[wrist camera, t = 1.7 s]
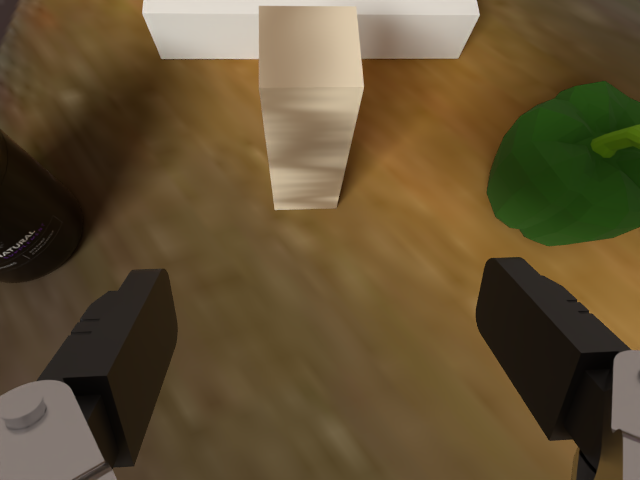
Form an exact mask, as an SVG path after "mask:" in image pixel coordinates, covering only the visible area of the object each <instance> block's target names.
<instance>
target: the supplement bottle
mask: <svg viewBox="0 0 640 480" xmlns="http://www.w3.org/2000/svg"><path fill="white" fill-rule="evenodd" d="M82 229H83V215H82V210H81V207H80V205H79V203H78V201H77V199H76V198H75V196H74V195H73V194H72V193H71V192H70V191H69V190H68V189H67V188H66V187H65V186H64V185H63V184H62V183H61V182H60V181H59V180H58V179H56V178H55V177H54V176H53V175H52V174H51V173H50V172H48V171H47V170H46V169H45V168H44V167H43V166H42V165H41V164H39V163H38V162H37V161H36V160H35V159H34V158H33V157H31V156H30V155H29V154H28V153H27V152H26V151H25V150H24V149H22V148H21V147H20V146H19V145H18V144H17V143H16V142H14V141H13V140H12V139H11V138H10V137H9V136H8V135H7V134H5V133H4V132H3V131H2V130H1V129H0V282H5V283H20V282H27V281H31V280H34V279H38V278H40V277H43V276H45V275H47V274H49V273H50V272H52V271H54V270H55V269H57V268H58V267H59V266H60V265H62V264H63V263H64V262H65V261H66V260H67V259H68V258H69V257H70V255H71V254H72V253H73V251H74V250H75V248H76V246H77V245H78V242H79V240H80V237H81V234H82Z"/></svg>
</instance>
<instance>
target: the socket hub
mask: <svg viewBox="0 0 640 480" xmlns="http://www.w3.org/2000/svg"><path fill="white" fill-rule="evenodd" d="M259 6H356V9H357V20H358V30H359V40H360V51H361V59H458V58H459V56H460V54H461V52H462V50H463V48H464V46H465V44H466V42H467V40H468V38H469V36H470V34H471V32H472V30H473V28H474V26H475V24H476V22H477V20H478V18H479V16H480V13H479V9H478V4H477V0H144V2H143V11H142V14H143V16H144V19H145V21H146V23H147V26H148V28H149V31H150V33H151V35H152V38H153V40H154V42H155V45H156V47H157V50H158V52H159V54H160V57H161V59H259Z"/></svg>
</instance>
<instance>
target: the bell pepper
mask: <svg viewBox="0 0 640 480" xmlns="http://www.w3.org/2000/svg"><path fill="white" fill-rule="evenodd" d="M487 195H488V198H489V201H490V203H491V206H492V209H493V212H494V214H495V217H496V218H498V219H499V220H500V221H502V222H503V223H504V224H506V225H507V226H508V227H510V228H515V229H520V231H521V232H522V234H523V236H524V237H526V238H528V239H531V240H533V241H536V242H538V243H541V244H544V245H546V246H557V245H567V244H574V243H581V242H588V241H595V240H602V239H609V238H614V237H616V236H619V235H621V234H624V233H626V232H629V231H631V230H633V229H636V228H638V227H640V102H638V101H636V100H633V99H631V98H629V97H628V96H626V95H625V94H623V93H622V92H620V91H619V90H618V89H616V88H615V87H613V86H612V85H610V84H609V83H607V82H606V81H602V82H596V83H590V84H585V85H579V86H574V87H572V88H569V89H567V90H564V91H561V92H560V93H559V94H558V95H557V96H556V97H555V98H554V99H552V100H549V101H546V102H544V103H541V104H539V105H537V106H535V107H534V108H532V109H531V110H529V111H527V112H526V113H524V114H523V115H521V116H520V117H519V118H518V120H517V121H516V122H515V123H514V125H513V126H512V127H511V128H510V130H509V131H508V132H507V133H506V134H505V136H504V137H503V140H502V142H501V144H500V147H499V149H498V151H497V154H496V156H495V159H494V162H493V165H492V168H491V171H490V176H489V181H488V187H487Z"/></svg>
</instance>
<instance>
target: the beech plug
mask: <svg viewBox="0 0 640 480" xmlns="http://www.w3.org/2000/svg"><path fill="white" fill-rule="evenodd" d="M363 90H364V82H363V71H362V61H361V51H360V40H359V30H358V20H357V9H356V6H259V92H260V99H261V107H262V115H263V122H264V130H265V138H266V145H267V153H268V161H269V169H270V176H271V184H272V192H273V199H274V207H275V210H290V209H331V208H337V203H338V199H339V195H340V190H341V186H342V181H343V177H344V173H345V168H346V164H347V160H348V155H349V151H350V146H351V142H352V138H353V133H354V129H355V125H356V120H357V116H358V111H359V107H360V103H361V98H362V94H363Z"/></svg>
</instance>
